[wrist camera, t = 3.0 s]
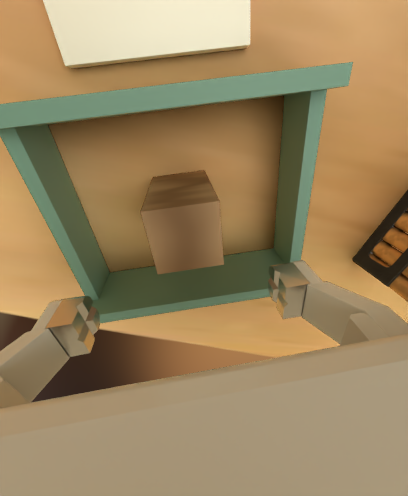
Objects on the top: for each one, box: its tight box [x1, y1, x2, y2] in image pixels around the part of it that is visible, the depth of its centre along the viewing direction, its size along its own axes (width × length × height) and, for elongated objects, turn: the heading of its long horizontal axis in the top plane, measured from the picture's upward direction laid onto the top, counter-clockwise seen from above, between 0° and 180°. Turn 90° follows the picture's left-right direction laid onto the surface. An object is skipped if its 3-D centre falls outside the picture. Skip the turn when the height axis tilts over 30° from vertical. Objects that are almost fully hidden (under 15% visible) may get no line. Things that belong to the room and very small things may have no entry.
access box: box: [0, 62, 353, 323], centre depth 18 cm, size 20×16×6 cm
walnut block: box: [141, 170, 224, 274], centre depth 17 cm, size 4×4×8 cm
